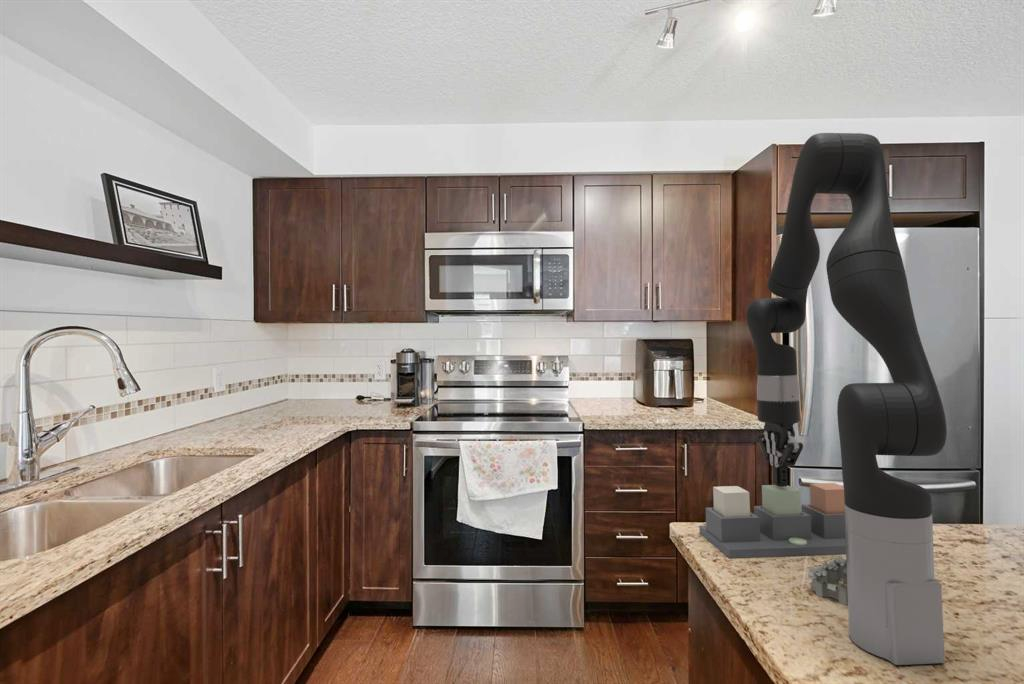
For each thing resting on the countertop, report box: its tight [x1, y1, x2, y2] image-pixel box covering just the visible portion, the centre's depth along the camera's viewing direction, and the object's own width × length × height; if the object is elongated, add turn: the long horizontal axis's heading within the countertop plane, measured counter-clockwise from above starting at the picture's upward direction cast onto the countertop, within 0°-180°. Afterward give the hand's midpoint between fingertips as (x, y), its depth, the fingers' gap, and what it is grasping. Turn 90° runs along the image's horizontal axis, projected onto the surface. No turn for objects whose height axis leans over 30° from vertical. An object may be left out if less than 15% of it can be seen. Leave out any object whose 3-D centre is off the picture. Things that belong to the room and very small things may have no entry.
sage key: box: [761, 484, 802, 516], centre depth 106 cm, size 5×5×6 cm
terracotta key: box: [809, 482, 845, 514], centre depth 107 cm, size 5×5×6 cm
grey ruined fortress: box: [807, 555, 848, 606], centre depth 84 cm, size 11×8×4 cm
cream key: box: [712, 485, 751, 517], centre depth 106 cm, size 5×5×6 cm
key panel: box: [698, 503, 846, 559], centre depth 106 cm, size 14×28×6 cm, turn 92°
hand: (780, 485), depth 106 cm, fingers closed
